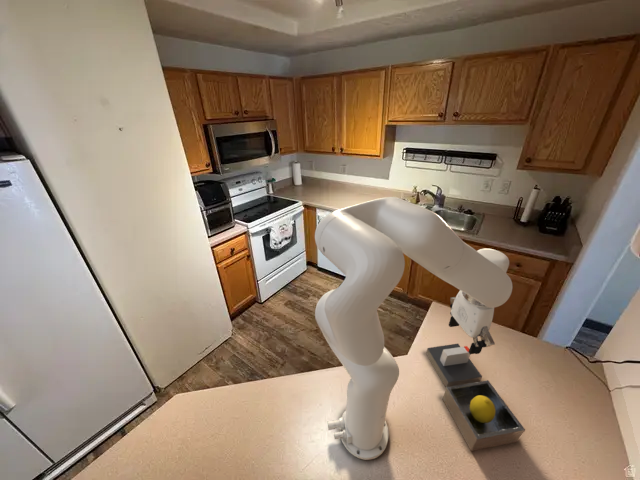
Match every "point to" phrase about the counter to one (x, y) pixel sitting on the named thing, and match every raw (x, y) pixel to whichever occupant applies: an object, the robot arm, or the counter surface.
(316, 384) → the counter surface
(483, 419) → the lemon
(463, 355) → the white block red stripe
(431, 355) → the sink deck
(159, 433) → the counter surface
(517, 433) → the basin
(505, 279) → the robot arm
